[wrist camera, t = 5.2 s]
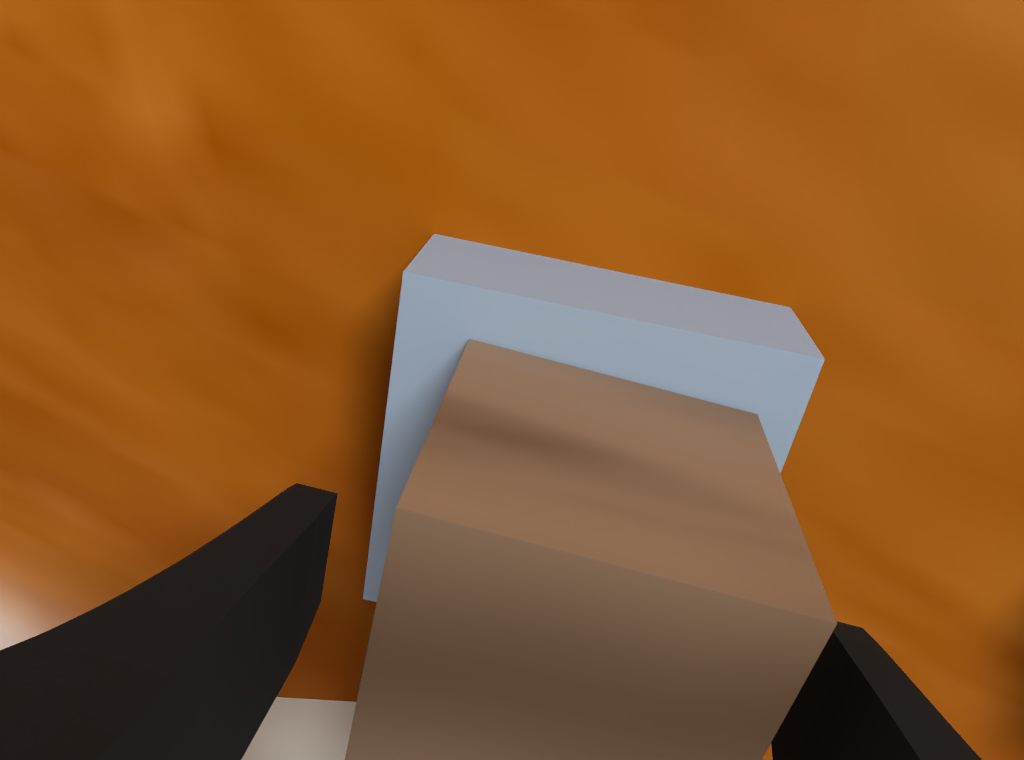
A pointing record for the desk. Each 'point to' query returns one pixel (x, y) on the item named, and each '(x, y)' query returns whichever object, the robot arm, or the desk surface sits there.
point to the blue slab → (579, 347)
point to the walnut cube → (587, 578)
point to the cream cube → (303, 730)
